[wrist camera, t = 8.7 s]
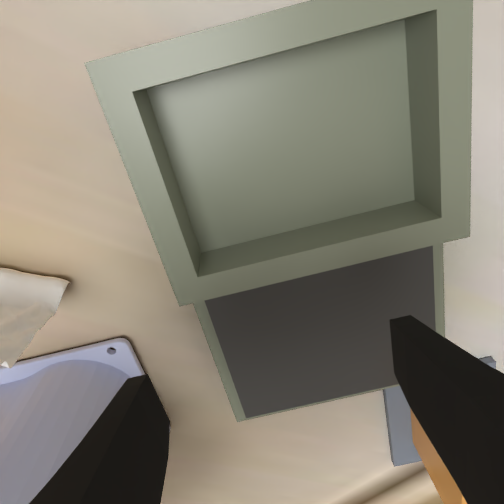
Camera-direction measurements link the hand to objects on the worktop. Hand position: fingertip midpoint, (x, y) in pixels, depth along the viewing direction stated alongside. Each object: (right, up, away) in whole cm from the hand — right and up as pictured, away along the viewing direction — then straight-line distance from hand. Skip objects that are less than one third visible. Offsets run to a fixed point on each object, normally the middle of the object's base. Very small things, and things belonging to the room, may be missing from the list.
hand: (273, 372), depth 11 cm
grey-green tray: (+2, +4, +9) cm, 10 cm away
